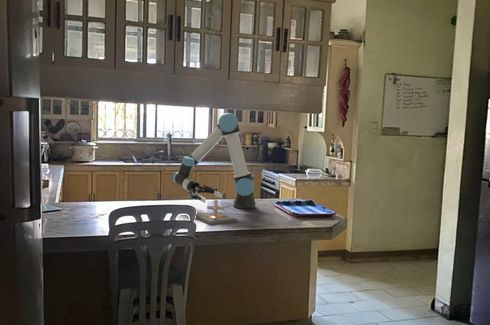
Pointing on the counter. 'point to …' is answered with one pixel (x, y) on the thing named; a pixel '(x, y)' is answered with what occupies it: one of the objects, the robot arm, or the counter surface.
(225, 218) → the plate
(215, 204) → the pipe connector
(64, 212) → the counter surface
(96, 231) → the counter surface
